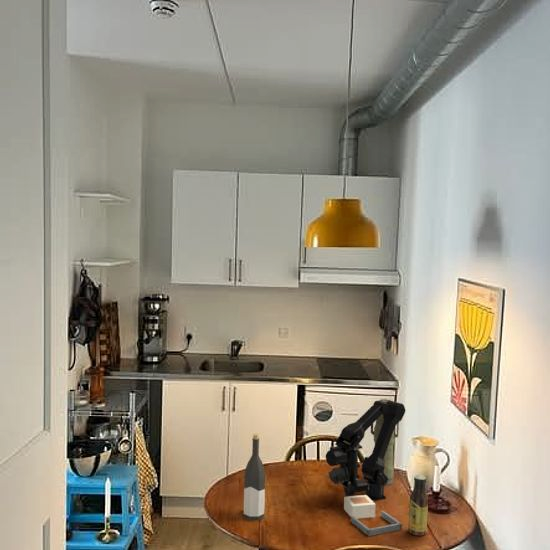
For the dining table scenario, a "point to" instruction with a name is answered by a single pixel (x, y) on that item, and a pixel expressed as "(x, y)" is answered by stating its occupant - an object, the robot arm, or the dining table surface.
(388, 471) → the thermos
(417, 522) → the sauce bottle
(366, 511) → the carton
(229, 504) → the dining table surface
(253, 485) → the wine bottle
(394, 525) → the frame
